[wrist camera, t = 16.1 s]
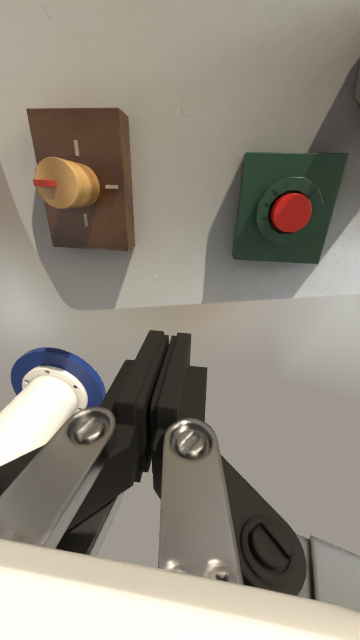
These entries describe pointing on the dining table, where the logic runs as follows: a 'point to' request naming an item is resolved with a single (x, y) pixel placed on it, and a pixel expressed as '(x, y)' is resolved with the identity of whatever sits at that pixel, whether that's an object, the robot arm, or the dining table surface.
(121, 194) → the panel
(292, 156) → the button box
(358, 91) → the coffeepot
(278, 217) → the button
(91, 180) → the dial
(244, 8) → the dining table surface
